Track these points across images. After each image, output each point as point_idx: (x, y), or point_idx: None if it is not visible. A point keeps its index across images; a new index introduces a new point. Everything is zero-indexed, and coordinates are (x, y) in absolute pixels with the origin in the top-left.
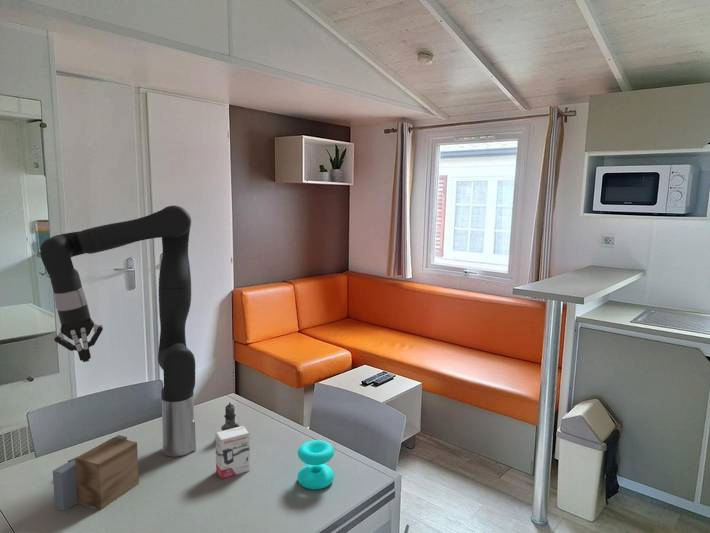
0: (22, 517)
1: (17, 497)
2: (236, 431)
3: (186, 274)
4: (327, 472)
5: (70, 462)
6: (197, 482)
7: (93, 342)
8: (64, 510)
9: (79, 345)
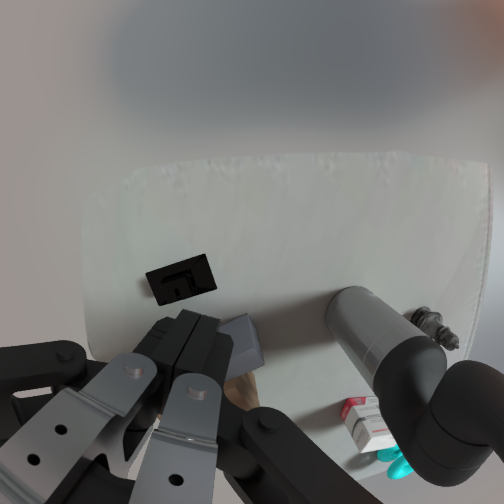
0: (104, 351)
1: (94, 295)
2: (388, 441)
3: None
4: (398, 457)
5: None
6: (316, 408)
7: (257, 482)
8: None
9: (129, 451)
